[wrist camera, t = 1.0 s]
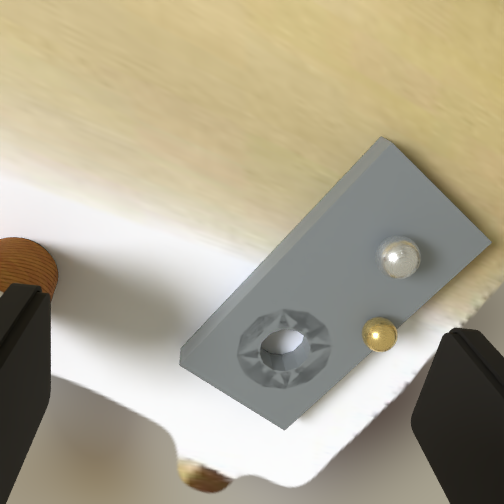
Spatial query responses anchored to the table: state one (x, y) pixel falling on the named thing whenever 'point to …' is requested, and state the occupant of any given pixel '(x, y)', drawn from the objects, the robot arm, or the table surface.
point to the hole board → (332, 287)
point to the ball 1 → (379, 334)
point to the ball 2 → (398, 257)
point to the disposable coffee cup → (26, 265)
